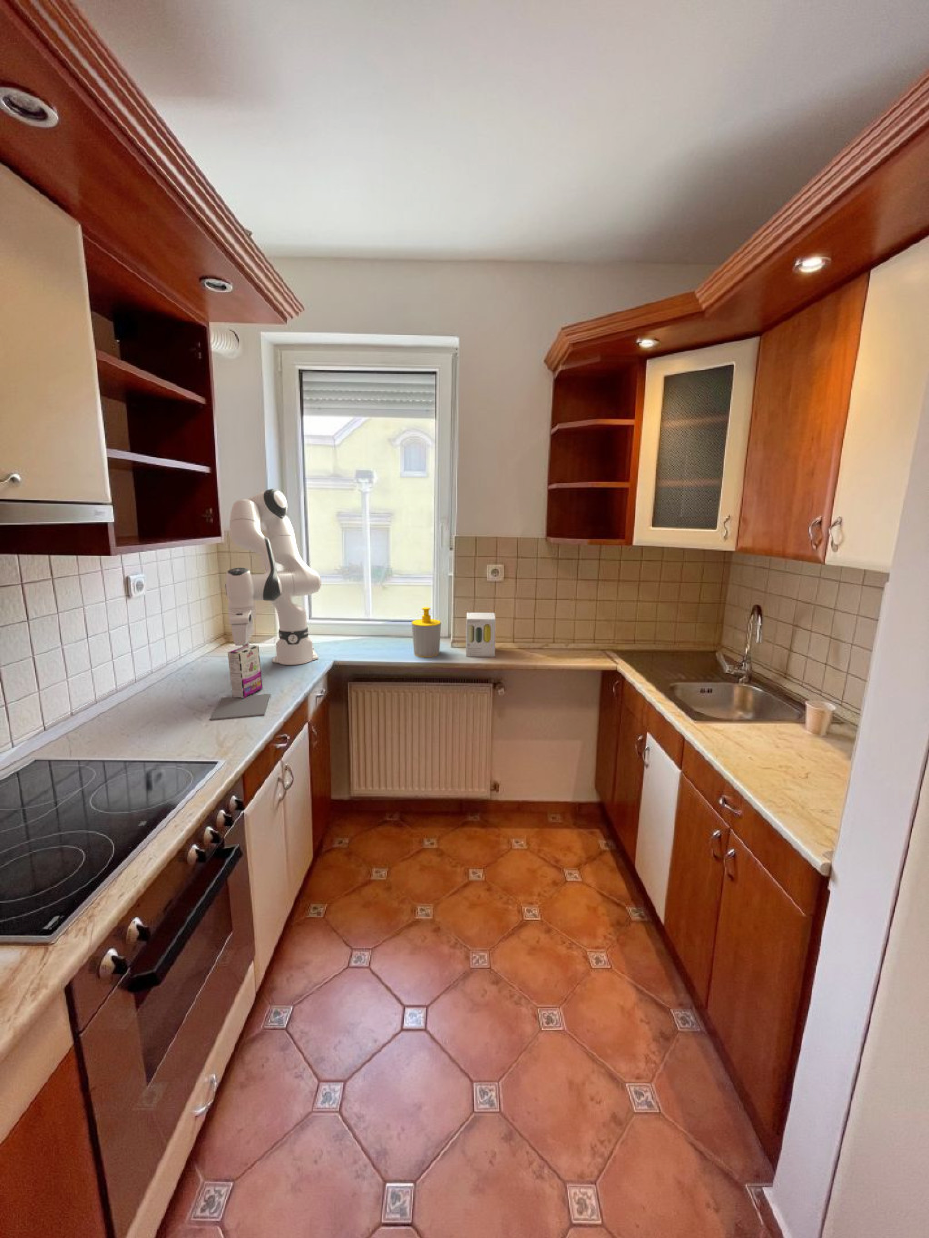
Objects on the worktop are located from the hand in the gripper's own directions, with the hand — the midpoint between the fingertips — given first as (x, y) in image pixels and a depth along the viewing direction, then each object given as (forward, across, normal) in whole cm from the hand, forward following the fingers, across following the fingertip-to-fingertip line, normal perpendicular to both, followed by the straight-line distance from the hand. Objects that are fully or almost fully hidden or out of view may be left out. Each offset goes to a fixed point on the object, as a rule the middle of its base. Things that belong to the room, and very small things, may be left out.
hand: (246, 651), depth 182 cm
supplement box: (+15, -23, +95) cm, 99 cm away
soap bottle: (+14, -28, +71) cm, 78 cm away
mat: (+14, +19, 0) cm, 24 cm away
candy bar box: (+14, +7, 0) cm, 16 cm away
